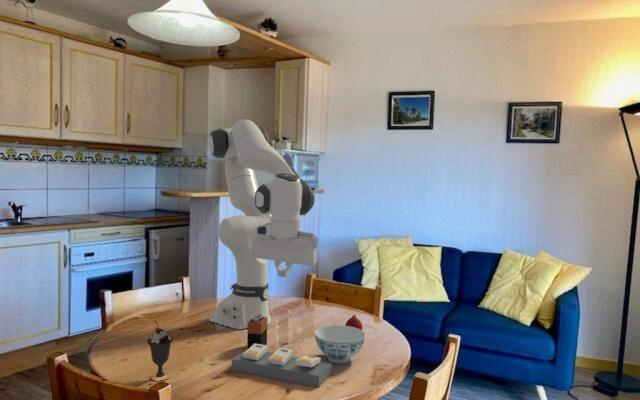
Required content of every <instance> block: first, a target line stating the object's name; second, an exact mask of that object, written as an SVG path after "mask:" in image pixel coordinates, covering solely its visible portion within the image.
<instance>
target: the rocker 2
mask: <svg viewBox="0 0 640 400" xmlns="http://www.w3.org/2000/svg"><path fill="white" fill-rule="evenodd" d="M294 351H295V350H294V349H290V348H285V347H278V349H276V351H274V352H273V353H274V354H273V355H272V356H271V357H270V358H269V363H271V364H277V365H282V366H284V365H285V364H286V362H288V361H289V359H290V358H291V357H292V356H293V357H294V354H295V352H294Z"/></svg>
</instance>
